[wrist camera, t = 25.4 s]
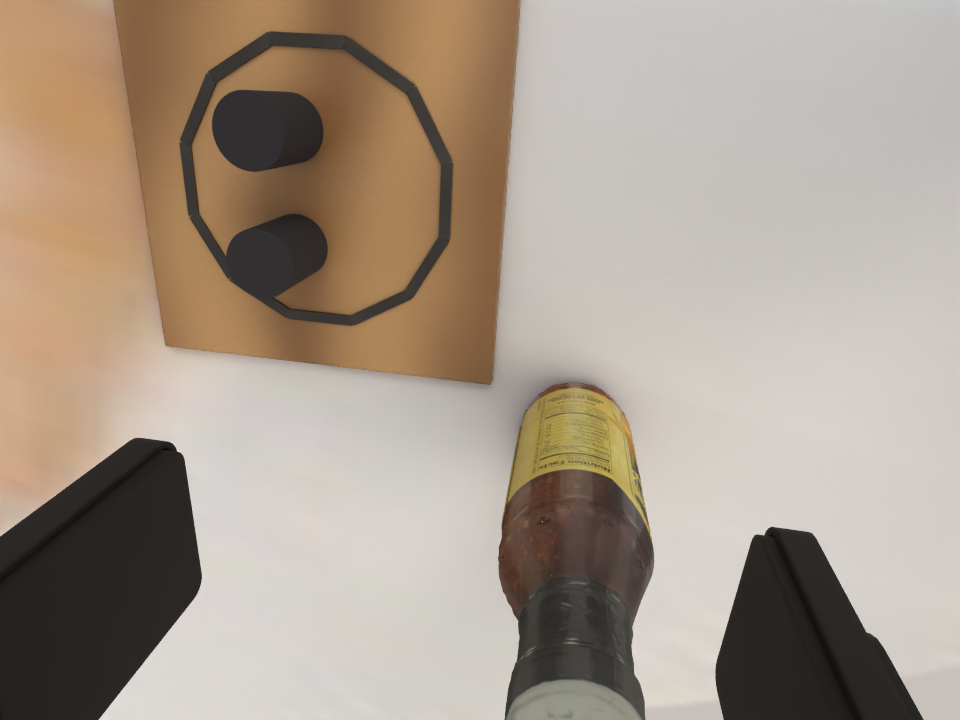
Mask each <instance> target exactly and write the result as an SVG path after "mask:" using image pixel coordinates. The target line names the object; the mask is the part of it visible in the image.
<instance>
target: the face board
mask: <svg viewBox="0 0 960 720" xmlns="http://www.w3.org/2000/svg"><path fill="white" fill-rule="evenodd" d="M113 2H114V8H115V15H116V21H117V28H118V35H119V41H120V48H121V55H122V61H123V68H124V74H125V81H126V88H127V94H128V101H129V107H130V114H131V121H132V127H133V134H134V141H135V147H136V154H137V160H138V167H139V174H140V180H141V187H142V193H143V200H144V207H145V213H146V220H147V227H148V233H149V240H150V246H151V253H152V260H153V266H154V273H155V280H156V286H157V293H158V299H159V306H160V313H161V319H162V326H163V332H164V339H165V345H166V346H170V347H178V348H187V349H195V350H204V351H212V352H220V353H229V354H237V355H246V356H254V357H263V358H271V359H279V360H288V361H296V362H305V363H313V364H321V365H330V366H338V367H347V368H355V369H364V370H372V371H380V372H389V373H397V374H406V375H414V376H422V377H431V378H439V379H448V380H456V381H465V382H473V383H481V384H491V383H492V380H493V367H494V353H495V340H496V326H497V313H498V299H499V286H500V272H501V259H502V245H503V232H504V218H505V205H506V191H507V178H508V164H509V151H510V137H511V124H512V110H513V97H514V83H515V70H516V56H517V43H518V29H519V16H520V2H521V0H113ZM236 90H261V91H282V92H294V93H297V94H300V95H302V96H303V97H305V98H306V99H308V100H309V101H310V102H311V103H312V104H313V105H314V106H315V108H316V109H317V111H318V113H319V115H320V117H321V120H322V124H323V140H322V144H321V147H320V149H319V150H318V152H317V153H316V154H315V156H313V157H312V158H311V159H310V160H308V161H306V162H303V163H298V164H294V165H289V166H284V167H279V168H274V169H269V170H264V171H258V172H250V171H245V170H242V169H240V168H237V167H236V166H234V165H233V164H231V163H230V162H229V161H228V160H227V159H226V158H225V157H224V156H223V155H222V153H221V152H220V150H219V149H218V147H217V145H216V143H215V140H214V137H213V132H212V117H213V113H214V110H215V108H216V106H217V104H218V102H219V101H220V100H221V99H222V98H223V97H224V96H225V95H226V94H228V93H230V92H233V91H236ZM287 214H300V215H303V216H306V217H308V218H310V219H311V220H313V221H314V222H315V223H316V224H317V225H318V226H319V227H320V228H321V230H322V231H323V233H324V235H325V238H326V241H327V246H328V253H327V258H326V261H325V263H324V265H323V266H322V267H321V268H320V269H319V270H318V271H317V272H315V273H314V274H312V275H311V276H309V277H307V278H306V279H304V280H303V281H301V282H299V283H298V284H296V285H295V286H293V287H292V288H290V289H288V290H287V291H285V292H284V293H282V294H280V295H279V296H276V297H273V298H259V297H255V296H252V295H250V294H248V293H246V292H245V291H243V290H242V289H241V288H240V287H239V286H238V285H237V284H236V283H235V282H234V280H233V279H232V277H231V275H230V273H229V271H228V267H227V262H226V252H227V248H228V246H229V243H230V241H231V240H232V239H233V237H234V236H235V235H236V234H238V233H239V232H241V231H243V230H246V229H249V228H251V227H254V226H257V225H259V224H262V223H265V222H268V221H270V220H273V219H276V218H278V217H281V216H284V215H287Z"/></svg>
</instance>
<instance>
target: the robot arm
mask: <svg viewBox="0 0 960 720" xmlns="http://www.w3.org/2000/svg"><path fill="white" fill-rule="evenodd" d="M201 580H202V573H201V567H200V560H199V553H198V547H197V540H196V533H195V527H194V520H193V513H192V507H191V500H190V493H189V487H188V480H187V473H186V467H185V460H184V457H183V455H182V454H181V453H179V452H177V450H176V447H175V446H174V445H173V444H172V443H170V442H166V441H159V440H152V439H145V438H134V439H133V440H131V441H129V442H128V443H126V444H125V445H124V446H122V447H121V448H119V449H118V450H117V451H115V452H114V453H113V454H111V455H110V456H109V457H107V458H106V459H105V460H103V461H102V462H101V463H99V464H98V465H96V466H95V467H94V468H92V469H91V470H90V471H88V472H87V473H86V474H84V475H83V476H82V477H80V478H79V479H78V480H76V481H75V482H73V483H72V484H71V485H69V486H68V487H67V488H65V489H64V490H63V491H61V492H60V493H59V494H57V495H56V496H55V497H53V498H52V499H50V500H49V501H48V502H46V503H45V504H44V505H42V506H41V507H40V508H38V509H37V510H36V511H34V512H33V513H32V514H30V515H29V516H27V517H26V518H25V519H23V520H22V521H21V522H19V523H18V524H17V525H15V526H14V527H13V528H11V529H10V530H9V531H7V532H6V533H4V534H3V535H2V536H0V720H99V718H100V717H101V716H102V715H103V713H104V712H105V711H106V709H107V708H108V707H109V706H110V704H111V703H112V702H113V701H114V699H115V698H116V697H117V696H118V694H119V693H120V692H121V690H122V689H123V688H124V687H125V685H126V684H127V683H128V682H129V680H130V679H131V678H132V677H133V675H134V674H135V673H136V671H137V670H138V669H139V668H140V666H141V665H142V664H143V663H144V661H145V660H146V659H147V658H148V656H149V655H150V654H151V652H152V651H153V650H154V649H155V647H156V646H157V645H158V644H159V642H160V641H161V640H162V639H163V637H164V636H165V635H166V633H167V632H168V631H169V630H170V628H171V627H172V626H173V625H174V623H175V622H176V621H177V620H178V618H179V617H180V616H181V615H182V613H183V612H184V611H185V609H186V608H187V607H188V606H189V604H190V603H191V602H192V601H193V599H194V598H195V596H196V595H197V593H198V591H199V588H200V585H201ZM716 687H717V692H718V696H719V701H720V705H721V709H722V714H723V718H724V720H923V718H922V716H921V715H920V713H919V711H918V709H917V707H916V705H915V704H914V702H913V700H912V698H911V696H910V695H909V693H908V691H907V689H906V687H905V685H904V684H903V682H902V680H901V678H900V676H899V675H898V673H897V671H896V669H895V667H894V665H893V664H892V662H891V660H890V658H889V656H888V655H887V653H886V651H885V649H884V648H883V646H882V645H881V643H880V642H879V641H878V639H877V638H875V637H874V636H873V635H871V634H870V633H866V631H865V629H864V627H863V625H862V623H861V622H860V620H859V618H858V616H857V614H856V612H855V610H854V608H853V607H852V605H851V603H850V601H849V599H848V597H847V595H846V594H845V592H844V590H843V588H842V586H841V584H840V582H839V580H838V579H837V577H836V575H835V573H834V571H833V569H832V567H831V566H830V564H829V562H828V560H827V558H826V556H825V554H824V552H823V551H822V549H821V547H820V545H819V543H818V541H817V539H816V538H815V536H814V535H813V534H812V533H810V532H804V531H797V530H790V529H783V528H776V527H771V528H769V529H768V530H767V531H766V533H765V535H764V536H763V535H755V536H754V537H753V539H752V542H751V545H750V548H749V552H748V555H747V559H746V562H745V565H744V569H743V572H742V576H741V579H740V583H739V586H738V590H737V593H736V597H735V600H734V603H733V607H732V610H731V614H730V617H729V621H728V624H727V628H726V631H725V635H724V638H723V642H722V645H721V648H720V652H719V655H718V659H717V663H716Z"/></svg>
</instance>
